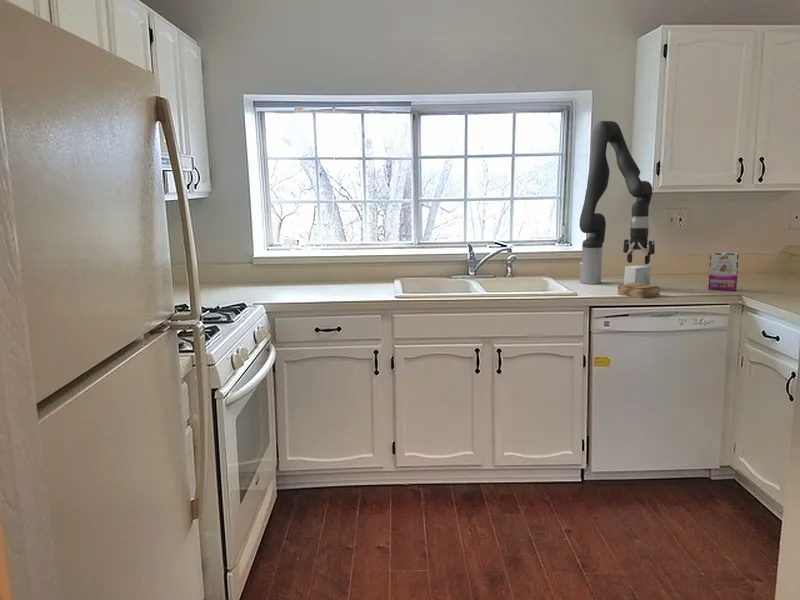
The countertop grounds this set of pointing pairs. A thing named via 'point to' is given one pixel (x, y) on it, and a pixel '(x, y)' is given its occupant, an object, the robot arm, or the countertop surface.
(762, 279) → the countertop surface
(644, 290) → the oak plinth
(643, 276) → the skincare box
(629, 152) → the robot arm
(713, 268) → the candy bar box
